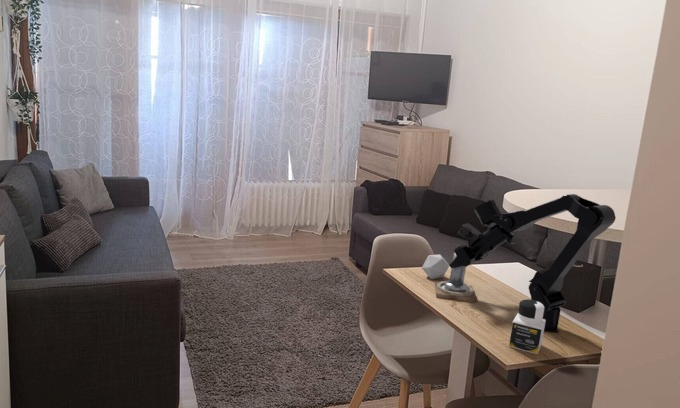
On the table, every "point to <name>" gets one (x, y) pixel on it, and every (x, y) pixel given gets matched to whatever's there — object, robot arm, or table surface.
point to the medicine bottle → (528, 327)
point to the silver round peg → (456, 279)
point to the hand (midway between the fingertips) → (454, 265)
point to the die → (435, 266)
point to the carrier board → (454, 293)
